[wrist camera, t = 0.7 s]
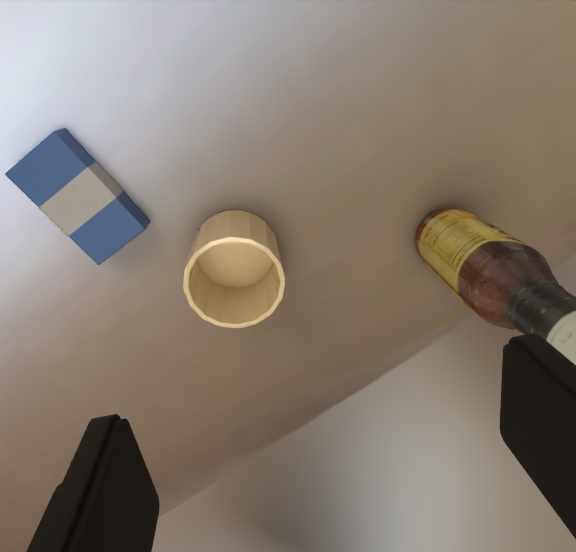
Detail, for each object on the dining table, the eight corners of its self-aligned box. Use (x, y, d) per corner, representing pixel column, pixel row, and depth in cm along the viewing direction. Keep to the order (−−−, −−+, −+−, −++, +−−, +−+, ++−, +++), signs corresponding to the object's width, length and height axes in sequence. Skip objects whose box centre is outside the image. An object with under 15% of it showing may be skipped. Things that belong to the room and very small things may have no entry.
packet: (17, 168, 38) (3, 174, 35) (65, 127, 37) (54, 130, 34) (105, 255, 41) (97, 265, 39) (151, 220, 40) (145, 229, 38)
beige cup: (175, 243, 42) (162, 277, 35) (242, 192, 40) (243, 216, 33) (229, 303, 45) (227, 344, 38) (294, 257, 43) (303, 291, 36)
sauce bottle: (481, 246, 45) (643, 363, 27) (424, 275, 45) (544, 407, 27) (462, 189, 42) (628, 276, 24) (401, 220, 43) (518, 327, 25)
